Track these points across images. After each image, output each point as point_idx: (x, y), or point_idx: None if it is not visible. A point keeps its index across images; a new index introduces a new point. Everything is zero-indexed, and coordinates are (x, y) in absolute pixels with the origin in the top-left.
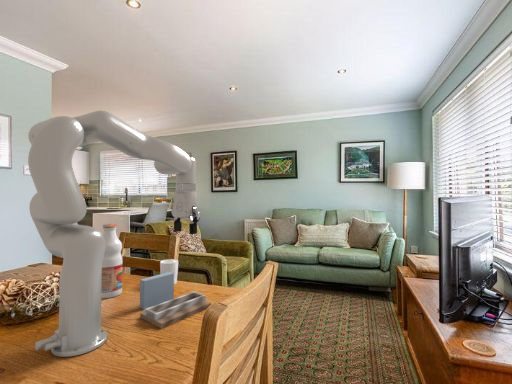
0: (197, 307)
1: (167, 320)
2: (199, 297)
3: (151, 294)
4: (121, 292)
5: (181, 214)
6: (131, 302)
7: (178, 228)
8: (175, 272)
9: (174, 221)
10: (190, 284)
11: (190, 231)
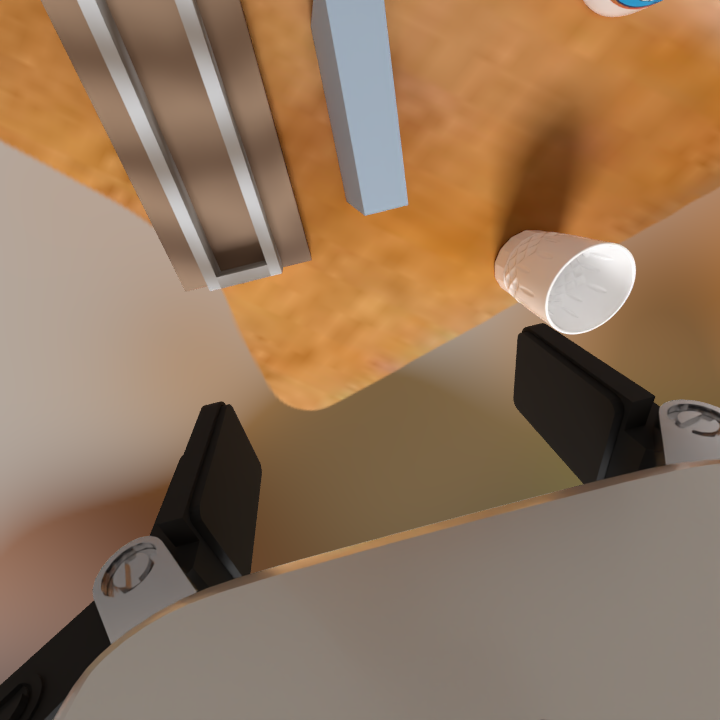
0: (161, 226)
1: (67, 39)
2: (199, 259)
3: (324, 57)
4: (589, 7)
5: (367, 663)
6: (439, 7)
7: (536, 391)
8: (518, 292)
9: (661, 410)
10: (448, 323)
11: (198, 428)
